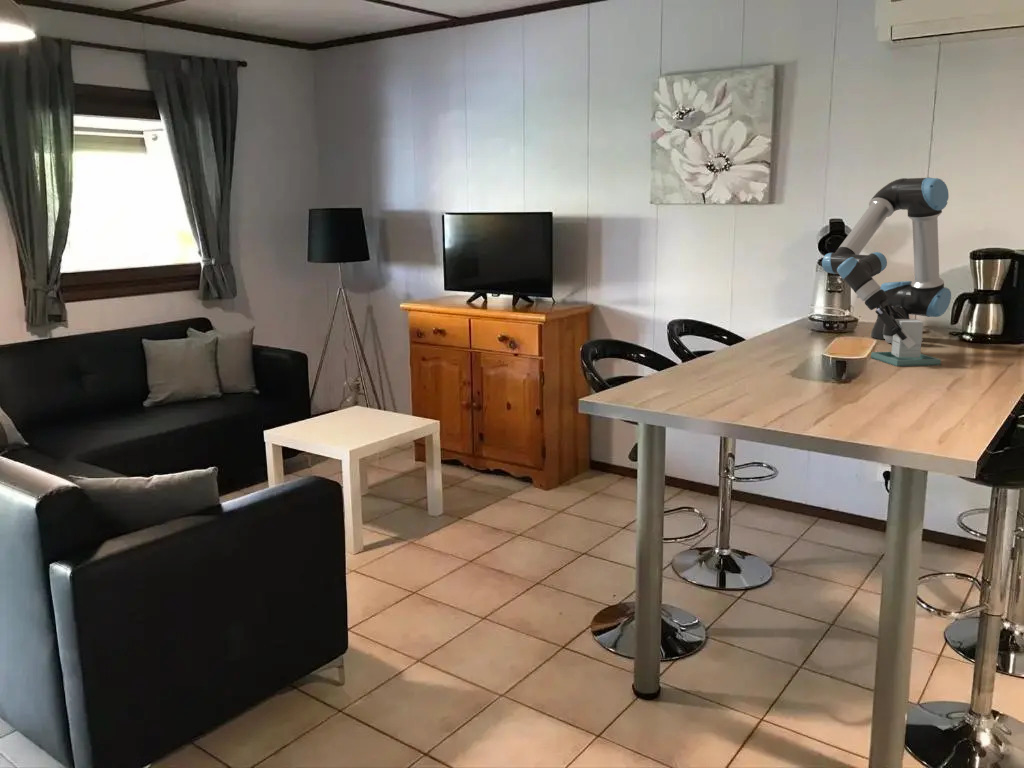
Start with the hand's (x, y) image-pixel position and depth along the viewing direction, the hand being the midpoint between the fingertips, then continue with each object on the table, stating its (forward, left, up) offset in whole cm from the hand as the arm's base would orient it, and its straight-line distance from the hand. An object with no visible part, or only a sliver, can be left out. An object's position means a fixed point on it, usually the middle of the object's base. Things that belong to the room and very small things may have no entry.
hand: (916, 344), depth 288 cm
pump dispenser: (-38, +17, -7) cm, 42 cm away
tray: (-2, -2, -6) cm, 7 cm away
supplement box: (-2, -2, -5) cm, 6 cm away
